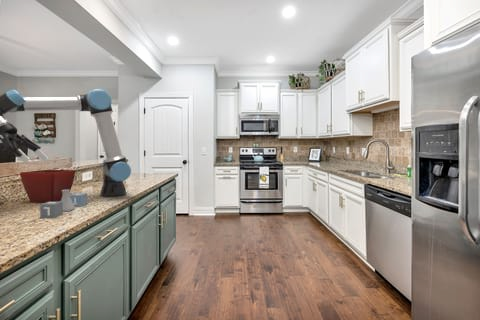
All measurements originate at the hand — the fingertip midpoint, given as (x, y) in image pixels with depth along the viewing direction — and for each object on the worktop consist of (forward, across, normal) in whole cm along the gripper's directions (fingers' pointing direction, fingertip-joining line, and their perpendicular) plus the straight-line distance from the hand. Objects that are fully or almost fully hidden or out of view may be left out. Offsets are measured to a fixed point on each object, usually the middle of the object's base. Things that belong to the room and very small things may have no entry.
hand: (37, 160), depth 129 cm
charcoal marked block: (+26, +11, -8) cm, 29 cm away
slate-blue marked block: (+26, -11, -7) cm, 30 cm away
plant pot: (+11, -25, -24) cm, 36 cm away
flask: (+26, 0, -8) cm, 27 cm away
